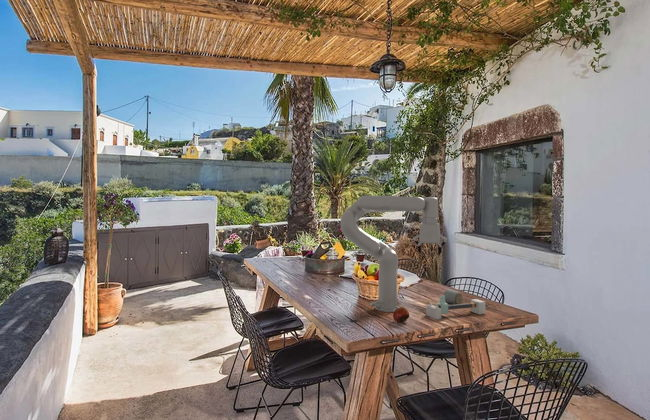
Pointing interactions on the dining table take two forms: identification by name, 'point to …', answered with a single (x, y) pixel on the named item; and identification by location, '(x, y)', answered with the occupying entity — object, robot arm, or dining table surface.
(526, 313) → the dining table surface
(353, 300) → the dining table surface
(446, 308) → the sleeve
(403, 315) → the pomegranate
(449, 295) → the ceramic mug
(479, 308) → the rail
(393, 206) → the robot arm
